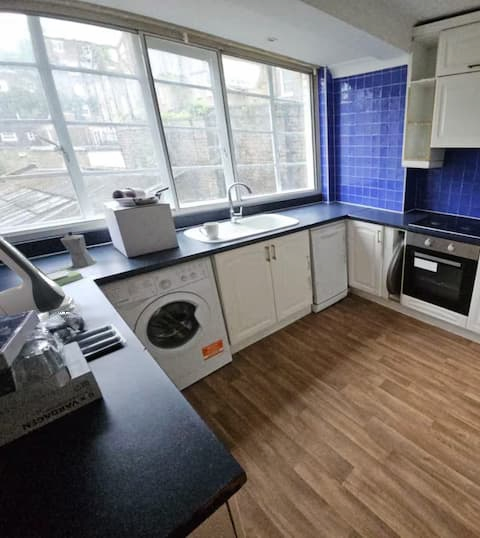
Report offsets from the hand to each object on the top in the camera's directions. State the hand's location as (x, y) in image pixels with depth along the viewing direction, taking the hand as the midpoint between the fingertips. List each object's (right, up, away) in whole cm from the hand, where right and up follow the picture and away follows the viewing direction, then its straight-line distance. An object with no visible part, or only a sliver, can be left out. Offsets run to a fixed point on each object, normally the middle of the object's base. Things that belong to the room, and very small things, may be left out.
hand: (37, 304), depth 103 cm
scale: (-28, +7, +34) cm, 44 cm away
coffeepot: (-35, +15, +54) cm, 66 cm away
